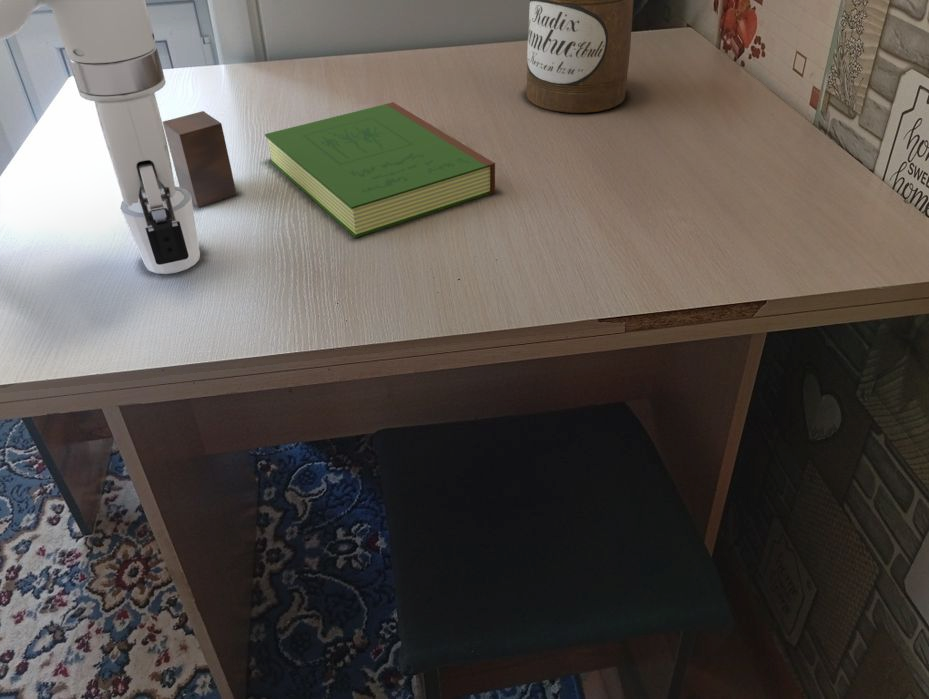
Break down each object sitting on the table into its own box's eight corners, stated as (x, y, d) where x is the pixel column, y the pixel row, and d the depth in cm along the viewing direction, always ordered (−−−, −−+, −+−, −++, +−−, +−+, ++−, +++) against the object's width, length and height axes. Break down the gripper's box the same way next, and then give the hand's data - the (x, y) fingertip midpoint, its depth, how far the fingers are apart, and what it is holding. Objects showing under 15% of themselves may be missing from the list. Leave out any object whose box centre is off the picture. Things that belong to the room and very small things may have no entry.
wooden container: (506, 99, 118) (508, -64, 105) (563, 72, 127) (571, -81, 114) (589, 122, 111) (603, -50, 97) (643, 92, 119) (663, -69, 106)
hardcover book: (494, 192, 94) (495, 163, 92) (355, 237, 86) (351, 207, 84) (392, 126, 111) (390, 100, 108) (267, 159, 103) (262, 132, 100)
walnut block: (197, 207, 92) (179, 134, 87) (181, 193, 96) (162, 121, 90) (237, 195, 95) (221, 123, 89) (219, 181, 98) (203, 110, 92)
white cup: (185, 236, 87) (169, 178, 83) (218, 258, 83) (203, 198, 79) (127, 260, 83) (107, 201, 79) (159, 284, 79) (140, 223, 75)
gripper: (71, 50, 76) (123, 214, 87) (78, 110, 64) (138, 293, 75) (151, 39, 79) (192, 201, 89) (173, 95, 66) (218, 275, 77)
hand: (167, 242), depth 82 cm, fingers closed on white cup, 6 cm apart
